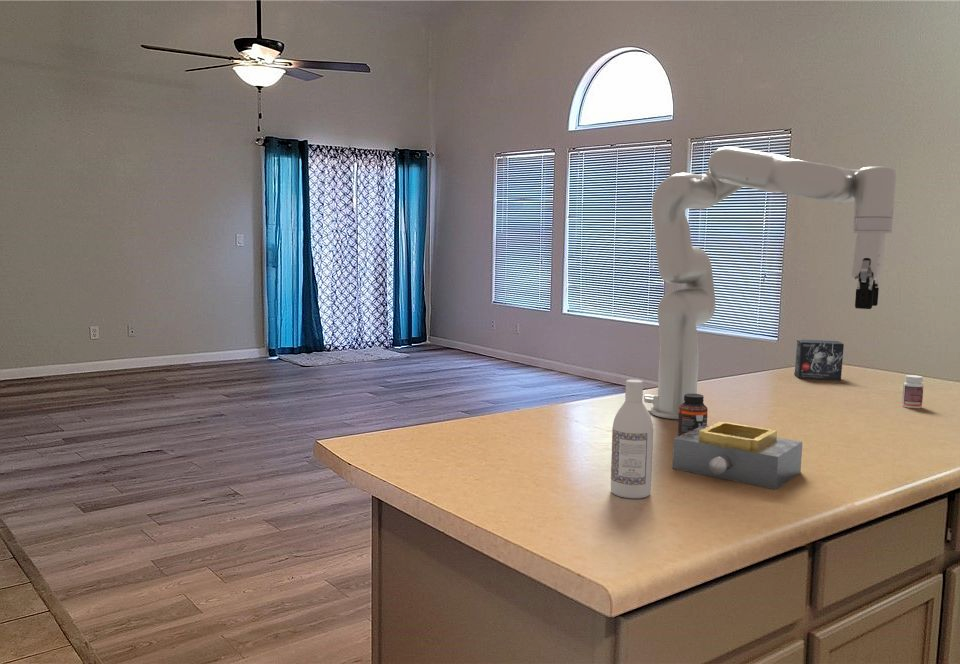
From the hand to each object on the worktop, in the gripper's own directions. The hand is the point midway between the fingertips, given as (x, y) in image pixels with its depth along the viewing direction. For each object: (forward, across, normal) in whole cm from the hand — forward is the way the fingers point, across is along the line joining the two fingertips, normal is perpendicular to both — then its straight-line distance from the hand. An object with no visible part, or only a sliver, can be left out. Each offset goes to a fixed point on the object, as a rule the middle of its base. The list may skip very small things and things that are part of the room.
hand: (866, 306), depth 173 cm
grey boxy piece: (+30, +36, -17) cm, 50 cm away
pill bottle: (+31, -53, +7) cm, 62 cm away
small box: (+31, -87, -23) cm, 95 cm away
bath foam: (+31, +59, -29) cm, 73 cm away
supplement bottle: (+31, +22, -30) cm, 48 cm away
